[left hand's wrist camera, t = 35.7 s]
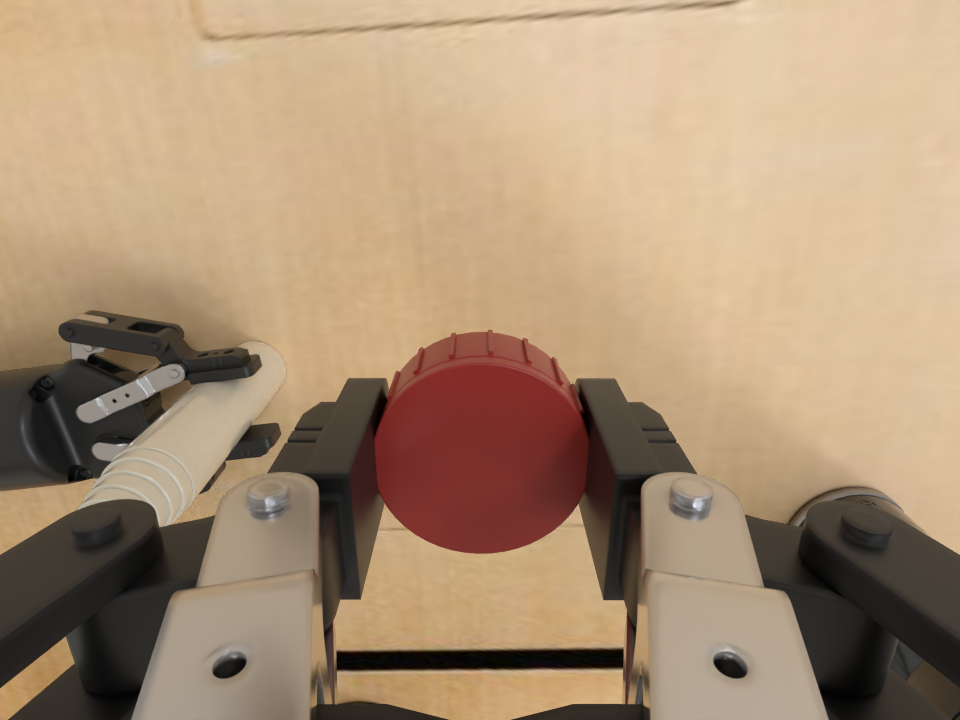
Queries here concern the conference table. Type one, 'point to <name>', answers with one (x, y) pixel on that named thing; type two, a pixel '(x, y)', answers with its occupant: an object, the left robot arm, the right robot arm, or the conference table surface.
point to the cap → (481, 444)
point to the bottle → (190, 440)
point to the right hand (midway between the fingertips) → (265, 400)
